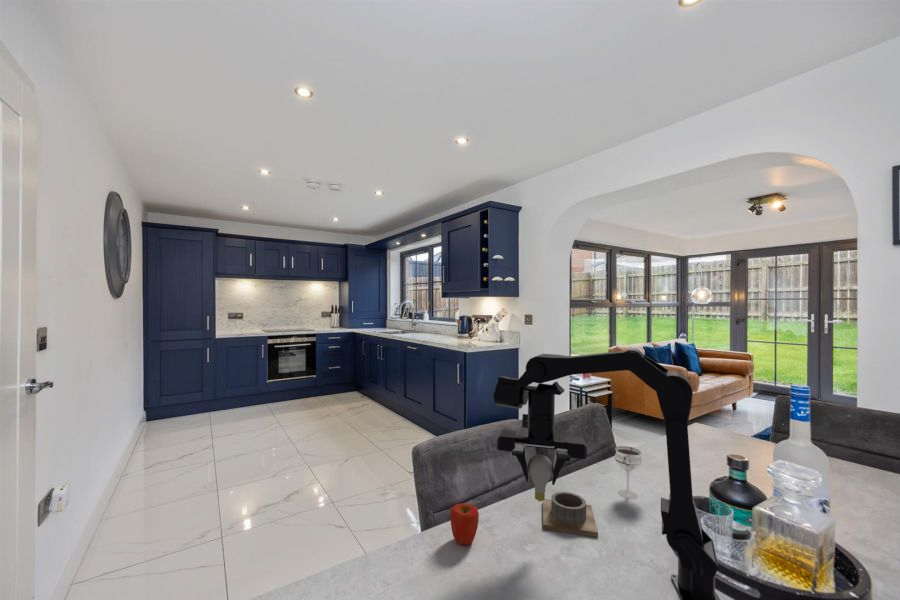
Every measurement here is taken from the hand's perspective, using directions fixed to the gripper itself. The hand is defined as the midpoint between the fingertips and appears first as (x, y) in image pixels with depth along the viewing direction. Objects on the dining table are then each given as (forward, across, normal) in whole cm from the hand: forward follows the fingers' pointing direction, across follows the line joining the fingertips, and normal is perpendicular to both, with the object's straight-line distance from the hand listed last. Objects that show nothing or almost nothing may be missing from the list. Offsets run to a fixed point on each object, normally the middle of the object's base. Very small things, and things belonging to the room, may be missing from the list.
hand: (540, 482), depth 84 cm
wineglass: (+13, -24, -28) cm, 39 cm away
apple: (+13, +16, +4) cm, 21 cm away
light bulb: (+4, 0, 0) cm, 4 cm away
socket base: (+13, -7, -11) cm, 18 cm away
